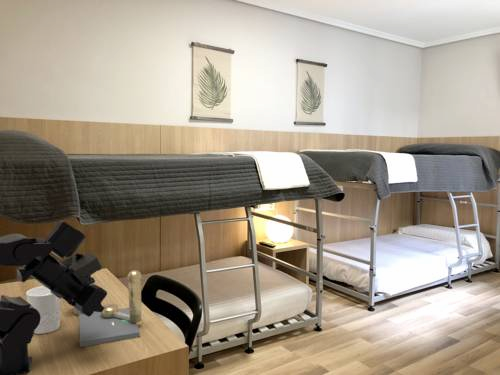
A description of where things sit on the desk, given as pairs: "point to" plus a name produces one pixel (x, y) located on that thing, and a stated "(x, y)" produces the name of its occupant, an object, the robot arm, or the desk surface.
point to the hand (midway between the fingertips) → (102, 310)
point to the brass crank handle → (134, 301)
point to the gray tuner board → (105, 328)
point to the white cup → (45, 308)
